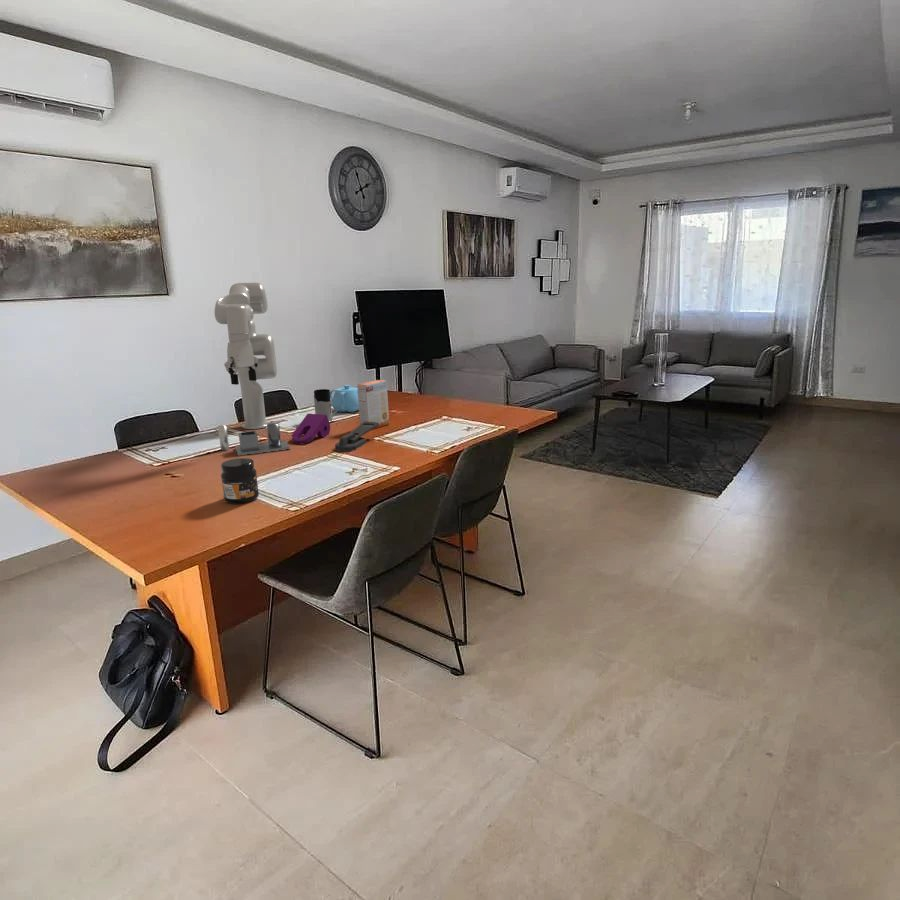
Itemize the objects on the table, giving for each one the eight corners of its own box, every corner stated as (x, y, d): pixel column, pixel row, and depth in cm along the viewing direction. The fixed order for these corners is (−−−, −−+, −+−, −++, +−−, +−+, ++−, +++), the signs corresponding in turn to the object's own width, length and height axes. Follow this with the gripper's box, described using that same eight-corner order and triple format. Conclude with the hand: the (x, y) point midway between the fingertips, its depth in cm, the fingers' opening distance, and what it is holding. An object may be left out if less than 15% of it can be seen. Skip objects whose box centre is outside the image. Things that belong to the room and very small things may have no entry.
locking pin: (220, 449, 243) (217, 425, 240) (229, 448, 244) (226, 424, 241) (221, 451, 240) (218, 427, 237) (229, 450, 241) (226, 426, 239)
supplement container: (225, 507, 180) (220, 469, 177) (223, 496, 189) (218, 460, 186) (261, 501, 184) (257, 464, 181) (257, 491, 193) (253, 455, 190)
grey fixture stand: (235, 448, 244) (232, 424, 241) (285, 442, 251) (283, 419, 248) (238, 456, 233) (235, 431, 230) (290, 449, 241) (287, 425, 238)
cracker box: (380, 423, 283) (377, 379, 277) (389, 424, 280) (387, 380, 274) (359, 429, 272) (356, 383, 267) (369, 430, 269) (366, 384, 263)
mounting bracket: (313, 456, 252) (332, 429, 264) (307, 441, 246) (326, 414, 259) (294, 454, 255) (313, 428, 267) (287, 439, 250) (307, 413, 262)
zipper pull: (381, 422, 256) (350, 436, 234) (381, 437, 258) (351, 452, 236) (363, 420, 259) (330, 434, 237) (364, 435, 261) (332, 450, 239)
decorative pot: (338, 415, 301) (336, 389, 297) (328, 409, 315) (326, 384, 311) (368, 411, 308) (367, 385, 305) (357, 406, 322) (356, 381, 318)
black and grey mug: (316, 419, 293) (313, 389, 289) (345, 418, 294) (343, 388, 290) (314, 423, 284) (311, 392, 280) (344, 422, 286) (342, 391, 282)
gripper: (247, 336, 238) (252, 378, 243) (214, 340, 223) (220, 385, 228) (262, 336, 235) (266, 379, 240) (230, 340, 220) (235, 386, 225)
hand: (244, 382), depth 234 cm, fingers open, 9 cm apart
